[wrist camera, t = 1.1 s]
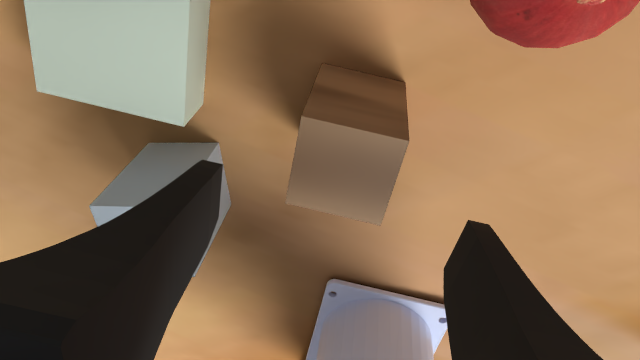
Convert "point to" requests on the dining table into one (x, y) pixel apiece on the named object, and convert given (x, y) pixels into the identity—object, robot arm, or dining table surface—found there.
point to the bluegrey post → (157, 179)
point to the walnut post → (349, 145)
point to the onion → (551, 19)
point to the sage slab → (122, 54)
